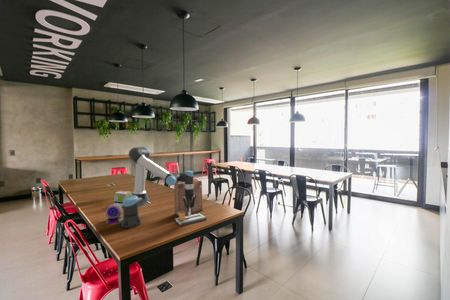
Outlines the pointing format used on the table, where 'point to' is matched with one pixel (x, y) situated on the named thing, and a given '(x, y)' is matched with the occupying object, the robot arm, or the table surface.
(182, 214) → the lever
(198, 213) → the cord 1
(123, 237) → the table surface
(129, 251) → the table surface
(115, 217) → the webcam
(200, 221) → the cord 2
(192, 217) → the panel
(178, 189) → the book
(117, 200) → the tea box
